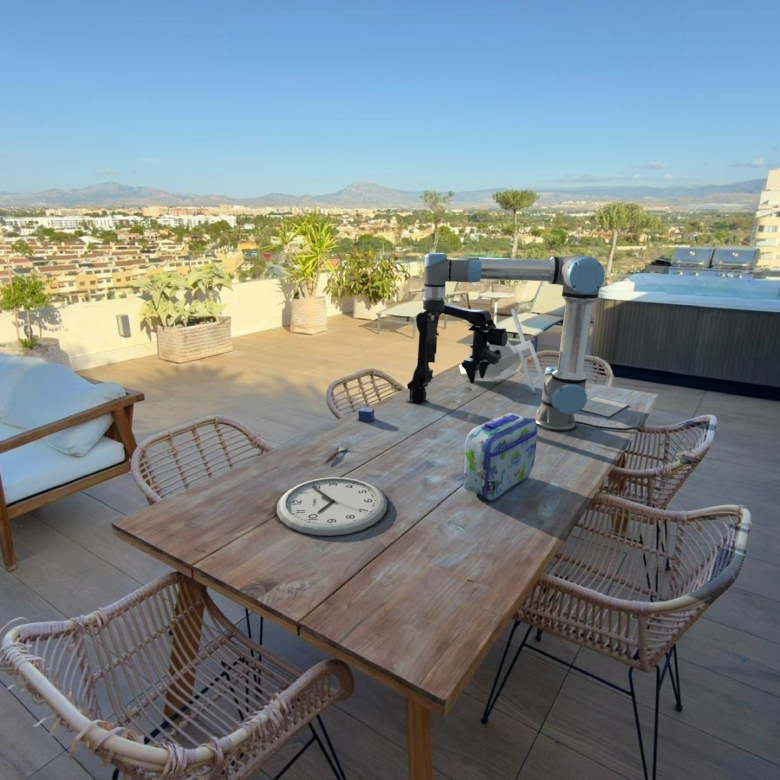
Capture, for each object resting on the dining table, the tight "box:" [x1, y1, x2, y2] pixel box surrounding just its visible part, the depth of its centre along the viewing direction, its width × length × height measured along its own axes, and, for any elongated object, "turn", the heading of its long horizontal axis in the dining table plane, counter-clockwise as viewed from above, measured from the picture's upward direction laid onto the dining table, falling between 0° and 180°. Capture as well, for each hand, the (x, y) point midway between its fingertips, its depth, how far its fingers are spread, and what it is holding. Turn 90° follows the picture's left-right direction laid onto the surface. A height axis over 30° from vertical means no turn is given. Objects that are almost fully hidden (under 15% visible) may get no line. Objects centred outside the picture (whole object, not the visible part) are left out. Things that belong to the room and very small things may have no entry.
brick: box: [358, 407, 375, 423], centre depth 206 cm, size 4×5×4 cm
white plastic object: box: [458, 308, 544, 394], centre depth 254 cm, size 37×45×31 cm
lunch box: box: [462, 412, 538, 502], centre depth 152 cm, size 26×11×21 cm, turn 135°
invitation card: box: [581, 396, 629, 418], centre depth 226 cm, size 21×1×15 cm
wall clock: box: [276, 476, 388, 537], centre depth 142 cm, size 30×2×30 cm
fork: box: [325, 439, 350, 464], centre depth 174 cm, size 3×16×2 cm, turn 160°
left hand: (477, 380), depth 210 cm, fingers open, 9 cm apart
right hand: (431, 357), depth 189 cm, fingers open, 13 cm apart
